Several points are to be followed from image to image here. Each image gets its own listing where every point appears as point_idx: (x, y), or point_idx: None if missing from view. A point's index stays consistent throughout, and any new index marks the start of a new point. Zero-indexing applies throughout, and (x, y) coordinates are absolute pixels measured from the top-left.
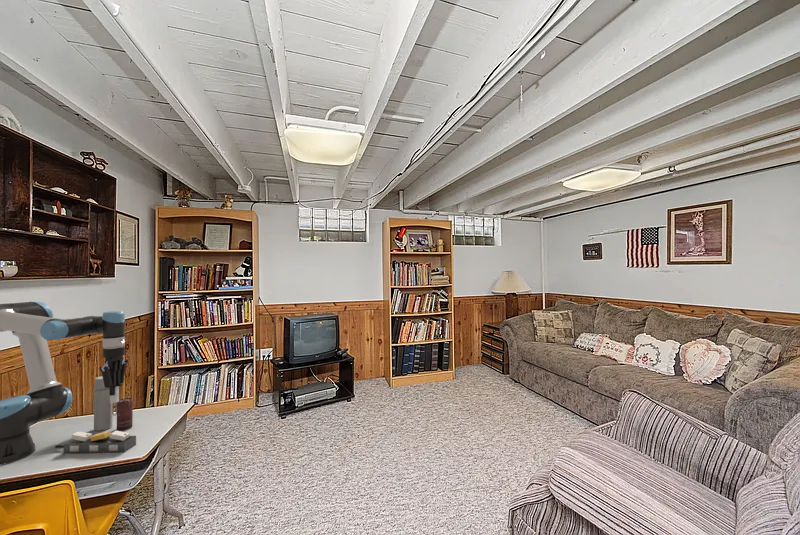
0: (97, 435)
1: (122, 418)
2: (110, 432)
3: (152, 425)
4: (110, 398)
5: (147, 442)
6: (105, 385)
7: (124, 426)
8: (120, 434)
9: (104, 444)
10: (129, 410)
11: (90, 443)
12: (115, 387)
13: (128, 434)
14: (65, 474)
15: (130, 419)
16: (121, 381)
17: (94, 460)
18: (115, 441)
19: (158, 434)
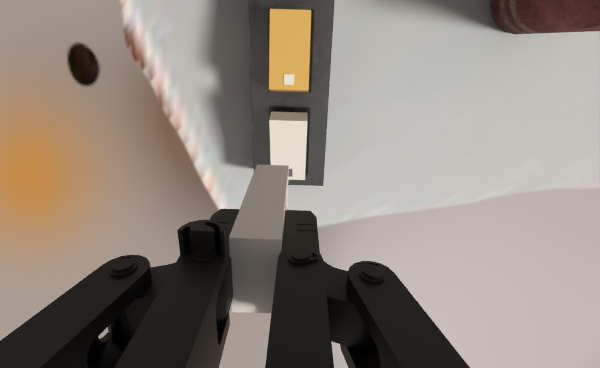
0: (270, 50)
1: (528, 2)
2: (307, 91)
3: (518, 121)
4: (251, 183)
5: (337, 199)
6: (85, 294)
7: (501, 16)
8: (280, 157)
9: (252, 101)
10: (576, 28)
11: (254, 28)
12: (233, 301)
13: (297, 178)
14: (99, 70)
15: (539, 32)
16: (343, 350)
17: (201, 99)
18: (269, 137)
19: (406, 199)
